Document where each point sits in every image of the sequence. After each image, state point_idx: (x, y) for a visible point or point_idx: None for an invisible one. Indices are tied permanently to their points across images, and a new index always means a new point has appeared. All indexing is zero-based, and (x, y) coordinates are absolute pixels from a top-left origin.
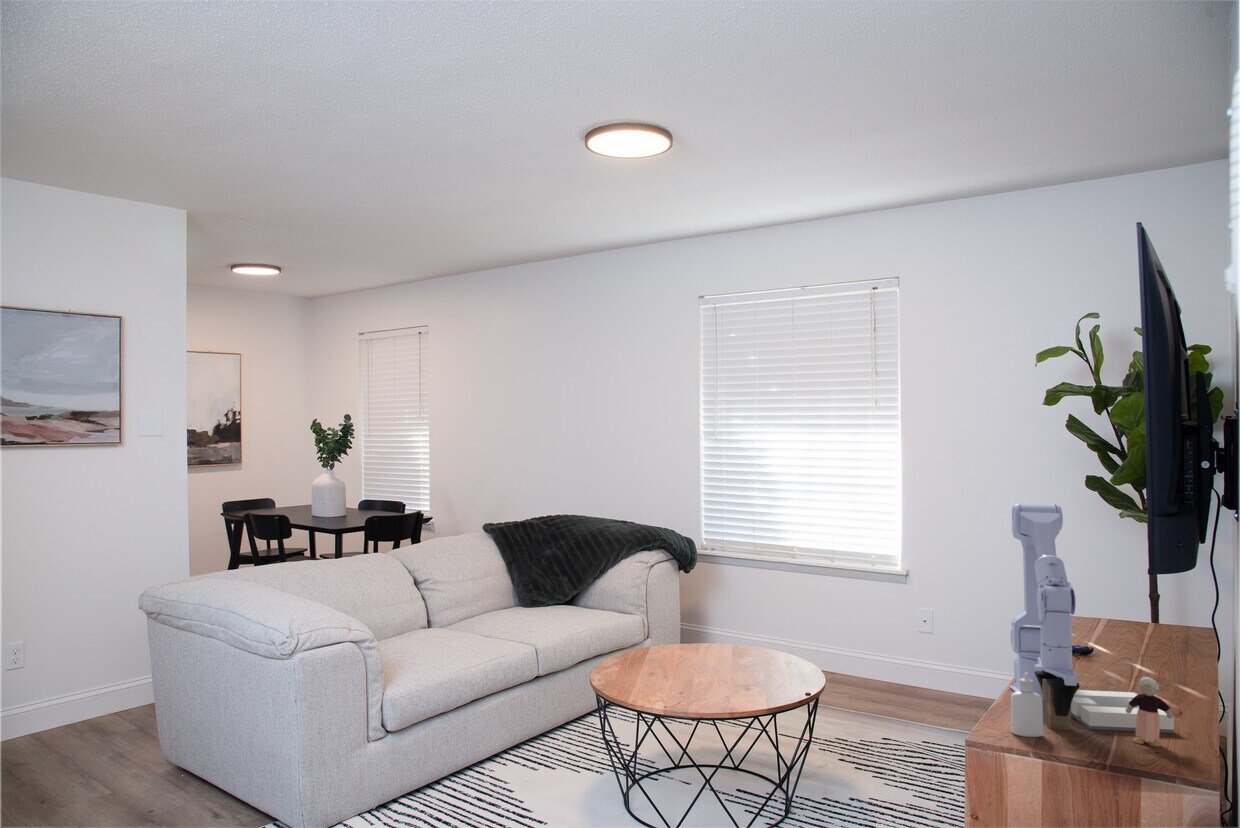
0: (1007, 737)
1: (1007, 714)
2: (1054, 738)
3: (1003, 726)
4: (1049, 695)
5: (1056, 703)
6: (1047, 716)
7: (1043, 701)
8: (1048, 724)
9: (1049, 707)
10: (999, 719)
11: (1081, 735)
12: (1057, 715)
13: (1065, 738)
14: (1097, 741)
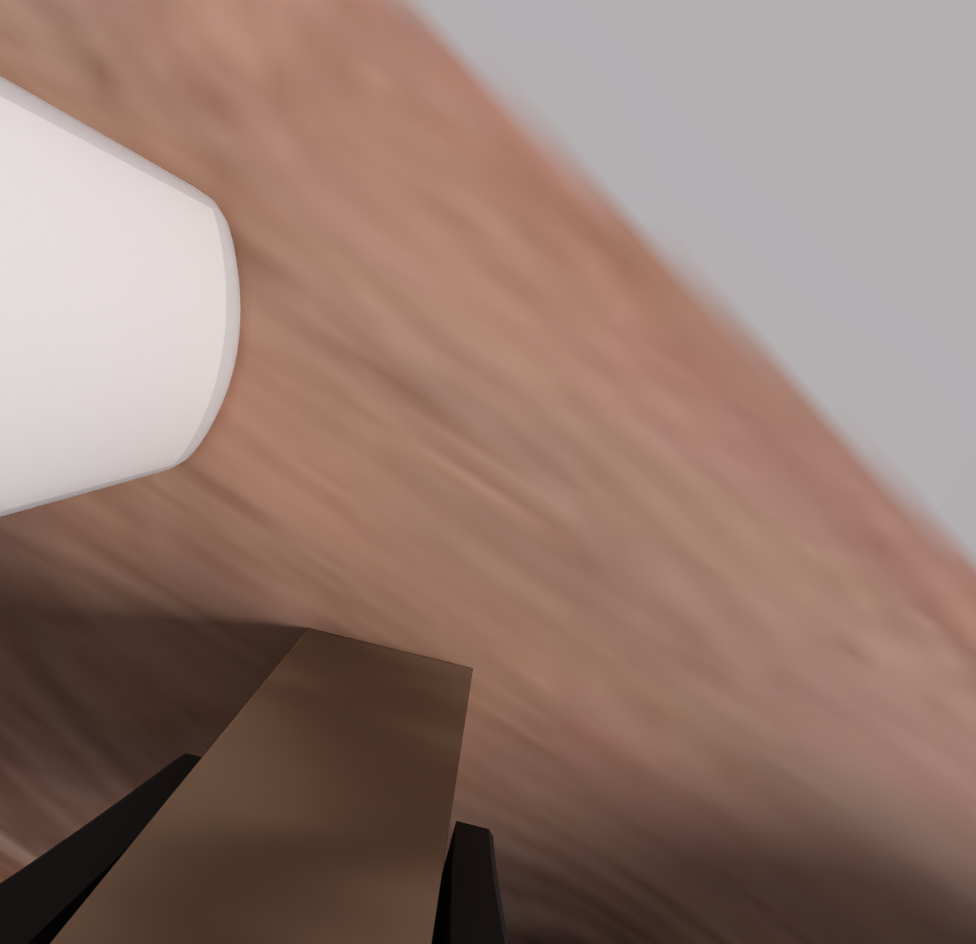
0: (60, 62)
1: (742, 497)
2: (79, 515)
3: (390, 226)
4: None
5: (9, 885)
6: (330, 701)
7: (409, 852)
8: (336, 652)
9: (212, 782)
10: (607, 317)
11: (167, 760)
12: (179, 758)
13: (88, 602)
14: (46, 781)
